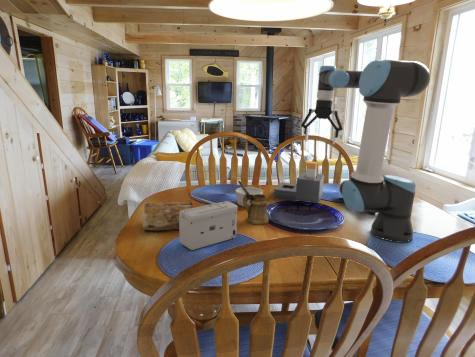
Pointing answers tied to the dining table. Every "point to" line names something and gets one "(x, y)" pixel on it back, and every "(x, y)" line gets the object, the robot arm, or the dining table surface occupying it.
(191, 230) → the stereo radio cassette player
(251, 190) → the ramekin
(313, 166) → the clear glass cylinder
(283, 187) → the dock
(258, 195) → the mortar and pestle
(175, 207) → the petrified wood
